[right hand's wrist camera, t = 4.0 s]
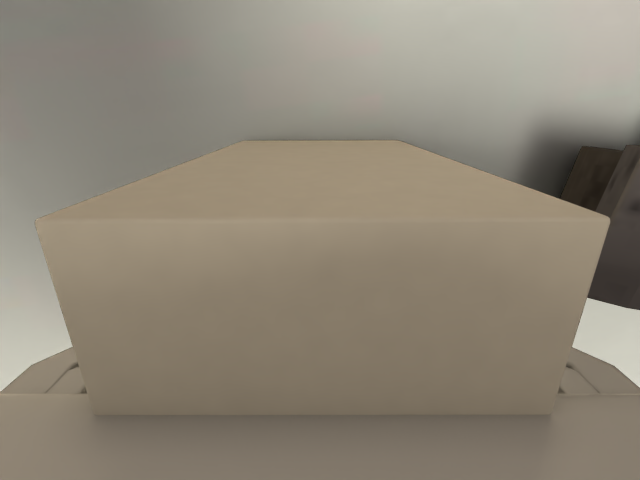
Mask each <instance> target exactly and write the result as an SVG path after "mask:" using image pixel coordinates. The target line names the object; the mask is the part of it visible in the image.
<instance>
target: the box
mask: <svg viewBox="0 0 640 480" xmlns="http://www.w3.org/2000/svg"><path fill="white" fill-rule="evenodd" d="M609 225H610V218H609V217H607V216H605V215H602V214H600V213H597V212H594V211H591V210H589V209H586V208H583V207H580V206H578V205H575V204H572V203H569V202H567V201H564V200H561V199H558V198H556V197H553V196H550V195H547V194H545V193H542V192H539V191H536V190H534V189H531V188H528V187H525V186H523V185H520V184H517V183H514V182H512V181H509V180H506V179H503V178H501V177H498V176H495V175H492V174H490V173H487V172H484V171H481V170H479V169H476V168H473V167H471V166H468V165H465V164H462V163H460V162H457V161H454V160H451V159H449V158H446V157H443V156H440V155H438V154H435V153H432V152H429V151H427V150H424V149H421V148H418V147H416V146H413V145H410V144H407V143H405V142H402V141H399V140H263V141H240V142H238V143H235V144H233V145H230V146H227V147H225V148H222V149H219V150H217V151H214V152H211V153H209V154H206V155H204V156H201V157H198V158H196V159H193V160H190V161H188V162H185V163H182V164H180V165H177V166H175V167H172V168H169V169H167V170H164V171H161V172H159V173H156V174H154V175H151V176H148V177H146V178H143V179H140V180H138V181H135V182H132V183H130V184H127V185H125V186H122V187H119V188H117V189H114V190H111V191H109V192H106V193H103V194H101V195H98V196H96V197H93V198H90V199H88V200H85V201H82V202H80V203H77V204H75V205H72V206H69V207H67V208H64V209H61V210H59V211H56V212H53V213H51V214H48V215H46V216H43V217H40V218H38V219H36V220H35V226H36V230H37V233H38V236H39V239H40V242H41V246H42V249H43V252H44V255H45V259H46V262H47V265H48V268H49V271H50V275H51V278H52V281H53V284H54V287H55V291H56V294H57V297H58V300H59V304H60V307H61V310H62V313H63V316H64V320H65V323H66V326H67V329H68V332H69V336H70V339H71V342H72V345H73V349H74V352H75V355H76V358H77V361H78V365H79V368H80V371H81V374H82V378H83V381H84V384H85V387H86V390H87V394H88V397H89V400H90V403H91V406H92V410H93V413H94V415H549V414H551V413H552V409H553V406H554V403H555V400H556V396H557V393H558V390H559V387H560V383H561V380H562V377H563V374H564V371H565V367H566V364H567V361H568V358H569V354H570V351H571V348H572V345H573V341H574V338H575V335H576V332H577V328H578V325H579V322H580V319H581V315H582V312H583V309H584V306H585V302H586V299H587V296H588V293H589V289H590V286H591V283H592V280H593V276H594V273H595V270H596V267H597V264H598V260H599V257H600V254H601V251H602V247H603V244H604V241H605V238H606V234H607V231H608V228H609Z"/></svg>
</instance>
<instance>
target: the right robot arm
mask: <svg viewBox="0 0 640 480" xmlns="http://www.w3.org/2000/svg"><path fill="white" fill-rule="evenodd" d="M0 480H640V388H639V387H638V386H637V385H636V384H634V383H633V382H632V381H631V380H630V379H629V378H628V377H626V376H625V375H624V374H623V373H622V372H621V371H619V370H618V369H617V368H616V367H615V366H613V365H611V364H609V363H607V362H604V361H602V360H600V359H598V358H595V357H593V356H591V355H588V354H586V353H584V352H582V351H579V350H577V349H575V348H573V347H572V348H571V351H570V354H569V358H568V361H567V364H566V367H565V371H564V374H563V377H562V380H561V383H560V387H559V390H558V393H557V396H556V400H555V403H554V406H553V409H552V413H551V414H549V415H94V413H93V410H92V406H91V403H90V400H89V397H88V394H87V390H86V387H85V384H84V381H83V378H82V374H81V371H80V368H79V365H78V361H77V358H76V355H75V352H74V349H73V347H71V348H69V349H67V350H64V351H62V352H60V353H58V354H55V355H53V356H51V357H49V358H46V359H44V360H42V361H40V362H37V363H35V364H33V365H31V366H30V367H29V368H27V369H26V370H25V371H24V372H23V373H22V374H21V375H19V376H18V377H17V378H16V379H15V380H14V381H13V382H11V383H10V384H9V385H8V386H7V387H6V388H5V389H3V390H2V391H1V392H0Z"/></svg>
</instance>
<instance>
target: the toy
mask: <svg viewBox="0 0 640 480" xmlns="http://www.w3.org/2000/svg"><path fill="white" fill-rule="evenodd" d="M560 199H561V200H564V201H567V202H569V203H572V204H575V205H578V206H580V207H583V208H586V209H589V210H591V211H594V212H597V213H600V214H602V215H605V216H607V217H609V218H610V225H609V228H608V231H607V234H606V238H605V241H604V244H603V247H602V251H601V254H600V257H599V260H598V264H597V267H596V270H595V273H594V276H593V280H592V283H591V286H590V289H589V293H588V296H587V298H591V299H595V300H599V301H602V302H606V303H610V304H614V305H618V306H622V307H625V308H631V309H637V310H640V146H638V145H626V147H625V149H624V151H620V150H613V149H605V148H597V147H587V146H582V148H581V150H580V152H579V155H578V157H577V159H576V162H575V164H574V166H573V169H572V171H571V173H570V176H569V178H568V180H567V183H566V185H565V187H564V190H563V192H562V194H561V197H560Z"/></svg>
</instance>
